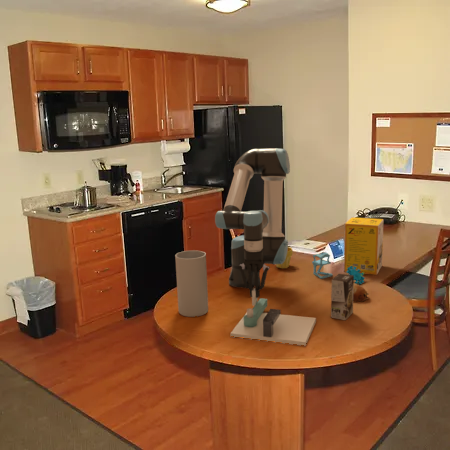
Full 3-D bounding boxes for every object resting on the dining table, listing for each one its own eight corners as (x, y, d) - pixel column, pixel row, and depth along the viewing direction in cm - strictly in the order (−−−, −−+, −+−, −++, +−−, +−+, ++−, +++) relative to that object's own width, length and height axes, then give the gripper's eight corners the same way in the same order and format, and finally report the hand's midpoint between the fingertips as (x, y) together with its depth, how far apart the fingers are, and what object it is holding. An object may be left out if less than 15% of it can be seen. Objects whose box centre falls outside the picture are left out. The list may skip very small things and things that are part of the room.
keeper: (262, 336, 186) (261, 321, 184) (270, 322, 197) (270, 308, 196) (272, 337, 184) (272, 322, 183) (280, 323, 196) (280, 309, 194)
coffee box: (346, 320, 200) (346, 281, 197) (330, 317, 204) (330, 279, 200) (353, 312, 208) (354, 275, 204) (338, 309, 211) (338, 272, 207)
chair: (321, 272, 260) (321, 249, 258) (332, 275, 254) (333, 252, 251) (309, 275, 256) (309, 252, 254) (321, 279, 249) (321, 255, 247)
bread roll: (355, 300, 230) (348, 284, 231) (374, 296, 223) (367, 279, 223) (343, 307, 223) (336, 289, 224) (362, 302, 216) (355, 284, 217)
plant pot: (293, 263, 275) (292, 246, 273) (292, 269, 266) (292, 251, 263) (273, 263, 277) (273, 246, 275) (272, 269, 267) (271, 251, 265)
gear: (354, 284, 236) (344, 265, 241) (346, 290, 240) (337, 272, 245) (370, 282, 242) (360, 264, 247) (362, 288, 246) (353, 270, 251)
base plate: (230, 336, 189) (230, 333, 189) (247, 314, 210) (247, 311, 209) (305, 346, 180) (305, 342, 180) (316, 321, 200) (316, 318, 200)
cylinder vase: (211, 306, 219) (209, 250, 214) (203, 318, 207) (201, 259, 202) (183, 305, 222) (180, 250, 216) (174, 316, 210) (171, 258, 204)
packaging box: (350, 262, 274) (351, 217, 268) (382, 265, 267) (383, 219, 261) (343, 271, 260) (344, 223, 254) (376, 274, 253) (378, 225, 247)
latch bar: (254, 327, 193) (254, 312, 191) (242, 326, 194) (241, 311, 193) (269, 305, 213) (269, 292, 212) (258, 304, 215) (257, 291, 213)
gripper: (235, 251, 204) (237, 306, 210) (266, 253, 200) (267, 309, 205) (241, 246, 211) (242, 299, 216) (271, 248, 207) (272, 302, 212)
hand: (254, 304), depth 211 cm, fingers closed
